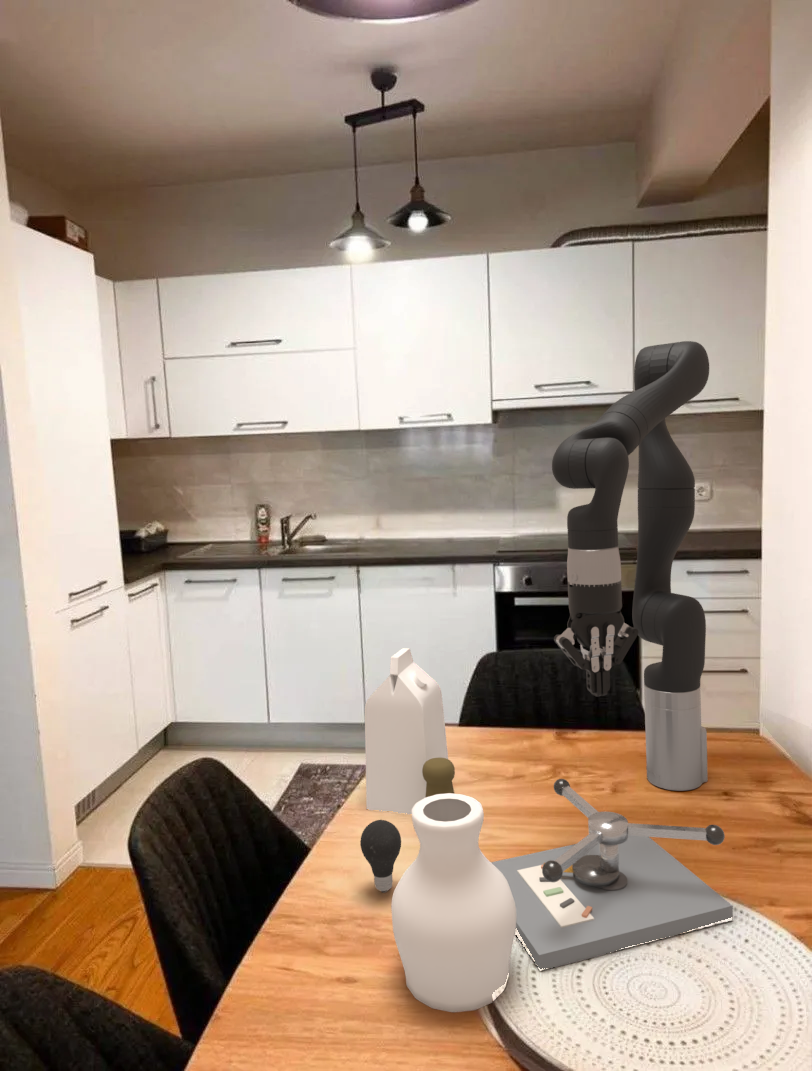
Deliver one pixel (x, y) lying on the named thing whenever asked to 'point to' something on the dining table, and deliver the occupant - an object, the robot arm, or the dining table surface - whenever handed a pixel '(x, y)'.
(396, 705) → the milk
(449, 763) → the cork
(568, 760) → the dining table surface
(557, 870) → the capstan
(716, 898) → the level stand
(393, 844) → the light bulb
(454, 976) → the vase
